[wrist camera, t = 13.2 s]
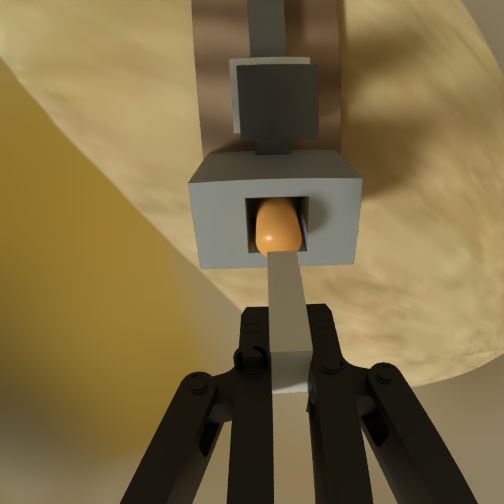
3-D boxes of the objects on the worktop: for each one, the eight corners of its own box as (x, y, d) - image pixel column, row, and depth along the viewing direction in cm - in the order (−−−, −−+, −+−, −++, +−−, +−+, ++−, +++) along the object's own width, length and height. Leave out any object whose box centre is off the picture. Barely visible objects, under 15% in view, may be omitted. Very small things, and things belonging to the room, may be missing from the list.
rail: (243, -56, 17) (242, -64, 16) (276, -57, 17) (277, -65, 15) (255, 150, 28) (255, 155, 27) (288, 149, 28) (289, 154, 26)
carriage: (233, 62, 24) (207, 43, 11) (302, 61, 23) (343, 41, 11) (237, 125, 27) (217, 167, 14) (304, 123, 27) (343, 164, 14)
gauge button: (256, 181, 27) (254, 220, 20) (291, 179, 26) (302, 218, 20) (258, 212, 28) (257, 260, 21) (291, 211, 28) (301, 259, 21)
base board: (191, -58, 17) (189, -61, 17) (327, -62, 17) (329, -65, 16) (212, 225, 33) (211, 228, 33) (334, 221, 33) (335, 224, 32)
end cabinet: (208, 153, 29) (187, 183, 21) (334, 149, 28) (363, 178, 20) (215, 219, 32) (200, 269, 24) (331, 216, 32) (353, 264, 24)
